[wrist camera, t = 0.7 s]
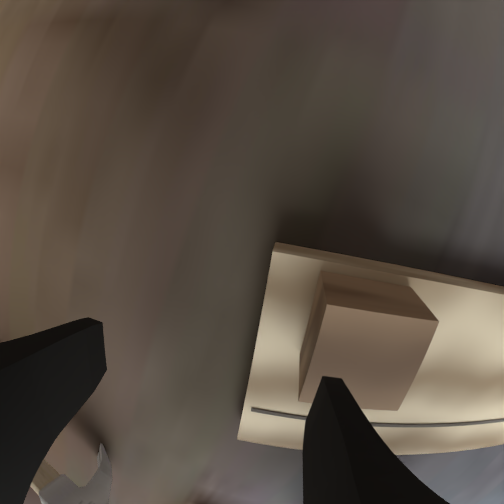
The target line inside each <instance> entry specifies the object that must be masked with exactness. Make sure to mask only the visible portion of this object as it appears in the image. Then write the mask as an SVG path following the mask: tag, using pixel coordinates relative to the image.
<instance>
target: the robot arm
mask: <svg viewBox="0 0 504 504" xmlns="http://www.w3.org/2000/svg"><path fill="white" fill-rule="evenodd" d="M106 370H107V366H106V358H105V348H104V336H103V323H102V322H100V321H97V320H94V319H91V318H89V317H88V318H83V319H79V320H76V321H72V322H69V323H66V324H63V325H60V326H57V327H54V328H51V329H48V330H44V331H41V332H38V333H35V334H32V335H28V336H25V337H21V338H17V339H14V340H10V341H6V342H2V343H0V504H23V503H24V500H25V497H26V494H27V492H28V490H29V487H30V485H31V483H32V481H33V478H34V476H35V474H36V472H37V470H38V469H39V467H40V465H41V463H42V461H43V459H44V457H45V456H46V454H47V452H48V451H49V449H50V447H51V446H52V444H53V442H54V441H55V439H56V438H57V436H58V435H59V434H60V432H61V431H62V430H63V429H64V427H65V426H66V425H67V424H68V422H69V421H70V420H71V419H72V418H73V416H74V415H75V414H76V413H77V412H78V410H79V409H80V408H81V407H82V406H83V404H84V403H85V402H86V401H87V399H88V398H89V397H90V396H91V394H92V393H93V392H94V390H95V389H96V387H97V386H98V384H99V382H100V381H101V379H102V377H103V376H104V374H105V372H106ZM303 504H449V503H448V502H447V501H445V500H444V499H442V498H441V497H440V496H438V495H437V494H436V493H435V492H433V491H432V490H431V489H430V488H428V487H427V486H426V485H425V484H424V483H423V482H421V481H420V480H419V479H418V478H417V477H416V476H415V475H414V474H413V473H412V472H411V471H410V470H409V469H408V468H407V467H406V466H405V465H404V464H403V463H402V462H401V461H400V460H399V459H398V458H397V457H396V455H395V454H394V453H393V452H392V451H391V450H390V448H389V447H388V446H387V445H386V443H385V442H384V441H383V440H382V438H381V437H380V436H379V434H378V433H377V432H376V430H375V429H374V428H373V426H372V425H371V423H370V422H369V420H368V419H367V417H366V416H365V414H364V413H363V411H362V410H361V408H360V407H359V405H358V403H357V402H356V400H355V399H354V397H353V395H352V394H351V392H350V391H349V389H348V387H347V386H346V384H345V383H344V381H343V379H342V378H336V377H329V376H322V379H321V381H320V384H319V387H318V390H317V392H316V395H315V398H314V400H313V403H312V405H311V408H310V410H309V413H308V416H307V418H306V421H305V429H304V438H303Z"/></svg>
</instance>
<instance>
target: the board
mask: <svg viewBox="0 0 504 504" xmlns="http://www.w3.org/2000/svg"><path fill="white" fill-rule="evenodd" d="M320 271H325V272H331V273H336V274H342V275H347V276H353V277H358V278H364V279H369V280H375V281H380V282H386V283H392V284H397V285H403V286H408V287H411V288H412V289H413V290H414V291H415V292H416V294H417V295H418V296H419V297H420V298H421V300H422V301H423V302H424V303H425V304H426V306H427V307H428V308H429V309H430V311H431V312H432V313H433V314H434V316H435V317H436V318H437V319H438V321H439V324H438V326H437V329H436V331H435V334H434V336H433V339H432V341H431V343H430V346H429V348H428V350H427V353H426V355H425V357H424V359H423V362H422V364H421V366H420V368H419V370H418V372H417V374H416V376H415V379H414V381H413V383H412V385H411V387H410V389H409V391H408V392H407V394H406V396H405V398H404V400H403V402H402V404H401V406H400V408H399V409H398V411H388V410H372V409H361V410H362V411H363V413H364V414H365V416H366V417H367V419H368V420H369V422H370V423H371V425H372V426H373V428H374V429H375V430H376V432H377V433H378V434H379V436H380V437H381V438H382V440H383V441H384V442H385V443H386V445H387V446H388V447H389V448H390V450H391V451H392V452H393V453H394V454H395V455H411V454H431V453H443V452H454V451H463V450H471V449H478V448H484V447H490V446H496V445H501V444H504V287H503V286H498V285H494V284H489V283H484V282H479V281H475V280H470V279H465V278H460V277H455V276H450V275H445V274H440V273H435V272H430V271H425V270H420V269H415V268H410V267H405V266H400V265H395V264H390V263H385V262H380V261H375V260H369V259H364V258H359V257H354V256H348V255H343V254H338V253H333V252H327V251H322V250H317V249H311V248H306V247H301V246H295V245H290V244H284V243H279V242H275V245H274V248H273V252H272V258H271V263H270V269H269V275H268V280H267V286H266V291H265V297H264V302H263V308H262V313H261V319H260V324H259V330H258V335H257V340H256V346H255V351H254V356H253V361H252V366H251V372H250V377H249V382H248V387H247V392H246V397H245V402H244V407H243V412H242V417H241V422H240V427H239V432H238V437H237V439H238V440H243V441H248V442H254V443H259V444H265V445H271V446H277V447H284V448H291V449H299V450H303V438H304V429H305V421H306V418H307V416H308V413H309V410H310V408H311V405H312V403H305V402H299V401H298V393H299V357H300V351H301V347H302V343H303V340H304V336H305V332H306V328H307V324H308V321H309V317H310V313H311V309H312V305H313V300H314V296H315V292H316V288H317V284H318V279H319V275H320Z"/></svg>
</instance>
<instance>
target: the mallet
mask: <svg viewBox="0 0 504 504" xmlns="http://www.w3.org/2000/svg"><path fill="white" fill-rule="evenodd" d="M438 324H439V321H438V319H437V318H436V317H435V316H434V314H433V313H432V312H431V311H430V309H429V308H428V307H427V306H426V304H425V303H424V302H423V301H422V300H421V298H420V297H419V296H418V295H417V294H416V292H415V291H414V290H413V289H412V288H411V287H408V286H403V285H397V284H392V283H386V282H380V281H375V280H369V279H364V278H358V277H353V276H347V275H342V274H336V273H331V272H325V271H320V275H319V279H318V284H317V288H316V292H315V296H314V300H313V305H312V309H311V313H310V317H309V321H308V324H307V328H306V332H305V336H304V340H303V343H302V347H301V351H300V357H299V393H298V401H299V402H305V403H313V400H314V398H315V395H316V392H317V390H318V387H319V384H320V381H321V379H322V376H329V377H336V378H342V379H343V381H344V383H345V384H346V386H347V387H348V389H349V391H350V392H351V394H352V395H353V397H354V399H355V400H356V402H357V403H358V405H359V407H360V408H361V409H372V410H388V411H398V409H399V408H400V406H401V404H402V402H403V400H404V398H405V396H406V394H407V392H408V391H409V389H410V387H411V385H412V383H413V381H414V379H415V376H416V374H417V372H418V370H419V368H420V366H421V364H422V362H423V359H424V357H425V355H426V353H427V350H428V348H429V346H430V343H431V341H432V339H433V336H434V334H435V331H436V329H437V326H438Z"/></svg>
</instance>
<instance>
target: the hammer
mask: <svg viewBox="0 0 504 504" xmlns="http://www.w3.org/2000/svg"><path fill="white" fill-rule="evenodd" d="M97 461H98V470H97V471H96V473H95V474H94V476H93V478H92V479H91V480H90V481H89V483H88V484H87V485H86V486H84V487H78V486H77V485H76V484H75V483H74V482H73V481H72V480H70V479H69V478H68V477H67V476H66V475H65V474H61V475H59V474H58V472H57V471H56V470H55V469H54V468H53V467H51V466H50V465H49V464H48V463H47V462H46V461H45V460H44V459H43V461H42V463H41V465H40V467H39V469H38V470H37V472H36V474H35V476H34V478H33V481H32V483H31V485H30V486H31V487H32V488H33V489H34V491H35V492H36V493H37V494H38V495H39V497H40V500H41V503H42V504H108V502H109V496H110V490H111V484H112V467H111V463H110V461H109V458H108V456H107V454H106V451H105V449H104V446H103V444H102V443H100V448H99V452H98V457H97Z"/></svg>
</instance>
